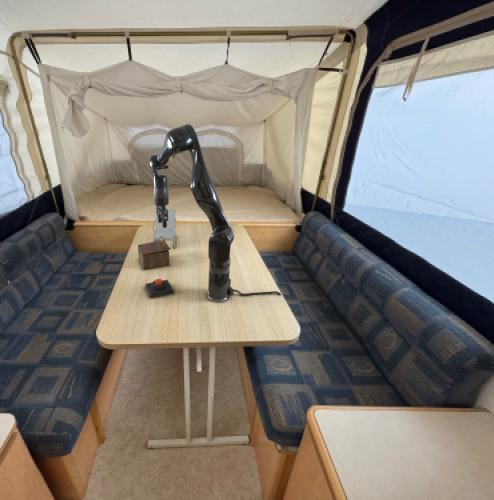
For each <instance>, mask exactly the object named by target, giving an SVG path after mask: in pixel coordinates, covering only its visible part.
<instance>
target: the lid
mask: <svg viewBox="0 0 494 500" xmlns="http://www.w3.org/2000/svg"><path fill="white" fill-rule="evenodd" d="M160 240H161V241H156V242H155V241H154V242H153V241H152V242H146V243H141V244H137V248H138V247H139V249H140V251H141V253H142V255H147V254H152V253H157V252H162V251H167V250H168V251H171V247H170V246H169V245H168V243H167V241H165V239H164V238H163V237H162V236H161V237H160Z"/></svg>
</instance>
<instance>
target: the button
mask: <svg viewBox="0 0 494 500" xmlns="http://www.w3.org/2000/svg"><path fill="white" fill-rule="evenodd" d="M163 280H164V279H162V278H156V279H155V280H154V281H155V285H157V286H160V285H162V284H163Z"/></svg>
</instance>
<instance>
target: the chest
mask: <svg viewBox="0 0 494 500" xmlns="http://www.w3.org/2000/svg"><path fill="white" fill-rule="evenodd" d="M137 254H138V261H139V263H140V265H141V267H142V269H143V271H146V270H152V269H157V268H158V269H159V268H163V267H169V266H170V250H167V251H162V252H157V253H152V254H147V255H142V253H141V251H140V249H139V247H138V246H137Z"/></svg>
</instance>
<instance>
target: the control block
mask: <svg viewBox="0 0 494 500" xmlns="http://www.w3.org/2000/svg"><path fill="white" fill-rule="evenodd" d="M162 280H163V284H162V285H160V286H157V285H155V280H153V281H152V282H147V283H145V285H144V286H145V289H146V292H147V294H148V296H149V298H150V299H152V298H156V297H160V296H166V295H170V294H173V293H174V288H173V286H172V285H171V284H170V282H169V280H168V279H162Z"/></svg>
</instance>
